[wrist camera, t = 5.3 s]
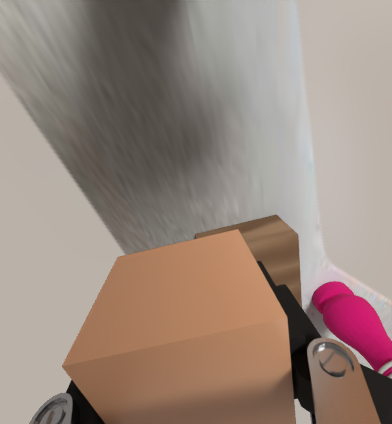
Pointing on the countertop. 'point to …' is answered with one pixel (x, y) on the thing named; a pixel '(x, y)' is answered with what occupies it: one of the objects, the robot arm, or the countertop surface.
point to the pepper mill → (355, 324)
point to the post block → (271, 249)
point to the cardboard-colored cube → (186, 339)
